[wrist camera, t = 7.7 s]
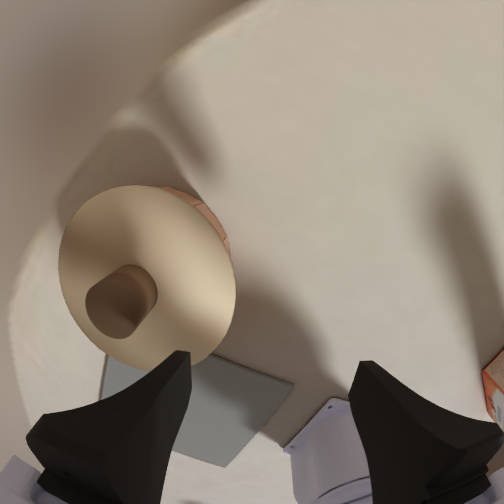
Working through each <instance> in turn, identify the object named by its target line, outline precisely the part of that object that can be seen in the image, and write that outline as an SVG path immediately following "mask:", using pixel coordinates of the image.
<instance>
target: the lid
mask: <svg viewBox="0 0 504 504" xmlns="http://www.w3.org/2000/svg"><path fill="white" fill-rule="evenodd" d="M58 270H59V279H60V285H61V289H62V293H63V296H64V299H65V302H66V304H67V307H68V309H69V311H70V313H71V315H72V317H73V318H74V320H75V322H76V323H77V325H78V326H79V327H80V329H81V330H82V332H83V333H84V334H85V335H86V336H87V337H88V338H89V340H90V341H91V342H93V343H94V344H95V345H96V346H97V347H98V348H99V349H101V350H102V351H103V352H104V353H106V354H107V355H109V356H110V357H112V358H114V359H115V360H117V361H119V362H121V363H123V364H125V365H128V366H131V367H134V368H137V369H141V370H145V371H151V370H153V369H154V368H155V367H156V366H158V365H159V364H160V363H161V362H162V361H164V360H165V359H166V358H167V357H168V356H170V355H171V354H172V353H173V352H174V351H176V350H180V351H187V352H190V353H191V366H192V365H195V364H197V363H198V362H200V361H202V360H203V359H205V358H206V357H207V356H208V355H210V354H211V353H212V352H213V351H214V350H215V349H216V348H217V347H218V345H219V344H220V343H221V341H222V340H223V338H224V336H225V335H226V333H227V331H228V328H229V326H230V323H231V320H232V316H233V312H234V307H235V300H236V279H235V273H234V268H233V264H232V261H231V258H230V255H229V252H228V250H227V248H226V246H225V243H224V241H223V239H222V238H221V236H220V235H219V233H218V232H217V230H216V228H215V227H214V226H213V225H212V223H211V222H210V221H209V220H208V219H207V217H206V216H205V215H203V214H202V213H201V212H200V211H199V210H198V209H197V208H196V207H195V206H193V205H192V204H190V203H189V202H188V201H186V200H185V199H183V198H181V197H179V196H178V195H176V194H174V193H172V192H169V191H166V190H163V189H161V188H156V187H151V186H142V185H130V186H121V187H115V188H112V189H108V190H105V191H103V192H101V193H99V194H97V195H95V196H93V197H92V198H90V199H89V200H88V201H86V202H85V203H84V204H83V205H82V206H81V207H80V208H79V209H78V210H77V211H76V213H75V214H74V215H73V217H72V218H71V220H70V222H69V223H68V225H67V227H66V229H65V232H64V235H63V237H62V241H61V245H60V250H59V260H58Z"/></svg>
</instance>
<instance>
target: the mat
mask: <svg viewBox="0 0 504 504" xmlns="http://www.w3.org/2000/svg"><path fill="white" fill-rule="evenodd" d="M149 372H150V371H145V370H141V369H137V368H134V367H131V366H128V365H125V364H123V363H121V362H119V361H117V360H115V359H114V358H112V357H110V356H109V357H108V362H107V367H106V373H105V378H104V384H103V390H102V397H101V400H103V399H105V398H107V397H110V396H112V395H114V394H116V393H118V392H120V391H122V390H124V389H125V388H127V387H129V386H130V385H132V384H133V383H135V382H136V381H138V380H139V379H141V378H142V377H144V376H145V375H146V374H148V373H149ZM191 375H192V391H191V396H190V400H189V404H188V408H187V411H186V413H185V416H184V419H183V421H182V424H181V426H180V429H179V432H178V434H177V437H176V439H175V442H174V445H173V448H172V451H175V452H178V453H180V454H183V455H186V456H189V457H192V458H195V459H198V460H201V461H204V462H207V463H210V464H214V465H217V466H221V467H224V468H225V467H226V466H227V465H228V464H229V463H230V462H231V461H232V460H233V459H234V458H235V457H236V456H237V455H238V454H239V453H240V451H241V450H242V449H243V448H244V447H245V446H246V445H247V444H248V443H249V441H250V440H251V439H252V438H253V437H254V436H255V435H256V434H257V432H258V431H259V430H260V429H261V428H262V426H263V425H264V424H265V423H266V422H267V421H268V419H269V418H270V417H271V416H272V414H273V413H274V412H275V411H276V410H277V408H278V407H279V406H280V405H281V403H282V402H283V401H284V399H285V398H286V397H287V396H288V394H289V393H290V392H291V390H292V389H293V388H294V384H291V383H288V382H285V381H282V380H279V379H276V378H273V377H270V376H268V375H265V374H262V373H259V372H256V371H254V370H251V369H248V368H246V367H243V366H240V365H238V364H235V363H233V362H230V361H228V360H225V359H223V358H220V357H218V356H215V355H213V354H210V355H208V356H207V357H206V358H205V359H203V360H202V361H200V362H198V363H197V364H195V365H192V366H191Z"/></svg>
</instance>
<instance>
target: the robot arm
mask: <svg viewBox="0 0 504 504" xmlns="http://www.w3.org/2000/svg"><path fill="white" fill-rule="evenodd" d="M191 391H192V375H191V353H190V352H187V351H180V350H176V351H174V352H173V353H172V354H171V355H170V356H168V357H167V358H166V359H165V360H164V361H162V362H161V363H160V364H159V365H158V366H156V367H155V368H154V369H153V370H151V371H150V372H149V373H148V374H146V375H145V376H144V377H142V378H141V379H139V380H138V381H136V382H135V383H133V384H132V385H130V386H129V387H127V388H125V389H124V390H122V391H120V392H118V393H116V394H114V395H112V396H110V397H107V398H105V399H103V400H100V401H98V402H95V403H93V404H90V405H86V406H83V407H80V408H76V409H72V410H68V411H62V412H56V413H49V414H43V415H42V416H41V418H40V419H39V420H38V421H37V423H36V424H35V425H34V426H33V428H32V429H31V430H30V432H29V433H28V434H27V436H26V441H27V444H28V446H29V448H30V449H31V451H32V452H33V453H34V455H35V456H36V458H37V459H38V460H39V462H40V463H41V464H42V466H43V467H44V468H45V470H44V471H43V473H42V474H41V473H40V472H39V471H38V470H36V469H35V468H34V467H32V466H31V465H29V464H28V463H26V462H24V461H23V460H21V459H20V458H18V457H17V456H16V455H13V456H12V458H11V459H10V460H9V462H8V463H7V464H6V466H5V467H4V469H3V470H2V471H1V473H0V504H160V501H161V496H162V490H163V485H164V480H165V475H166V471H167V466H168V462H169V458H170V454H171V451H172V448H173V445H174V442H175V439H176V437H177V434H178V432H179V429H180V426H181V424H182V421H183V419H184V416H185V413H186V411H187V408H188V404H189V400H190V396H191ZM348 397H349V401H345V400H341V399H337V398H331V399H329V400H328V401H327V402H326V404H325V405H324V406H323V407H322V408H321V409H320V411H319V412H318V413H317V414H316V415H315V416H314V417H313V418H312V419H311V421H310V422H309V423H308V424H307V425H306V426H305V427H304V428H303V429H302V430H301V431H300V432H299V433H298V434H297V435H296V436H295V437H294V438H293V440H292V441H291V442H290V443H289V444H288V445H287V446H285V447H284V449H283V452H284V453H286V454H290V455H291V467H292V479H293V492H294V496H295V499H296V501H297V502H298V504H504V467H503V468H501V469H500V470H498V471H496V472H495V473H493V474H492V475H491V476H490V477H488V478H487V476H486V474H485V473H487V472H488V467H487V466H486V464H487V463H488V462H489V461H490V460H491V459H492V457H493V456H494V455H495V454H496V452H497V451H498V450H499V449H500V448H501V446H502V445H503V443H504V432H503V430H502V429H501V427H500V426H499V425H498V424H497V423H493V422H487V421H481V420H476V419H472V418H468V417H465V416H462V415H459V414H456V413H453V412H451V411H448V410H446V409H444V408H442V407H439V406H437V405H436V404H434V403H432V402H430V401H428V400H426V399H425V398H423V397H421V396H420V395H418V394H417V393H415V392H414V391H412V390H411V389H409V388H408V387H407V386H405V385H404V384H403V383H401V382H400V381H399V380H397V379H396V378H395V377H393V376H392V375H391V374H390V373H388V372H387V371H386V370H385V369H383V368H382V367H381V366H379V365H378V364H377V363H375V362H374V361H360V362H359V365H358V368H357V371H356V374H355V377H354V380H353V383H352V386H351V389H350V392H349V395H348Z"/></svg>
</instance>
